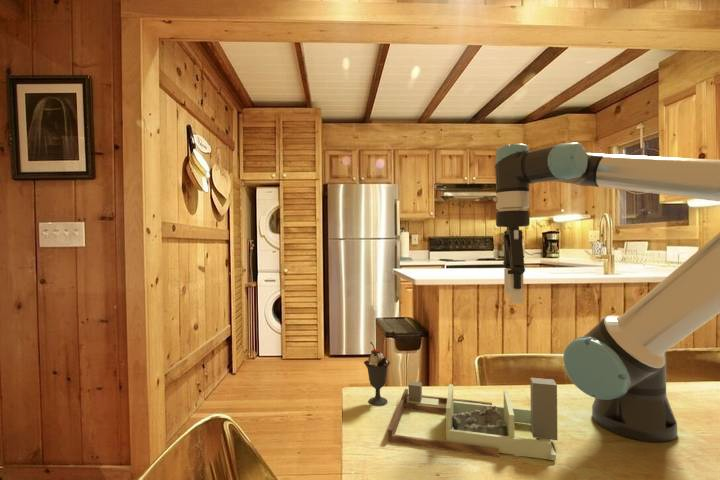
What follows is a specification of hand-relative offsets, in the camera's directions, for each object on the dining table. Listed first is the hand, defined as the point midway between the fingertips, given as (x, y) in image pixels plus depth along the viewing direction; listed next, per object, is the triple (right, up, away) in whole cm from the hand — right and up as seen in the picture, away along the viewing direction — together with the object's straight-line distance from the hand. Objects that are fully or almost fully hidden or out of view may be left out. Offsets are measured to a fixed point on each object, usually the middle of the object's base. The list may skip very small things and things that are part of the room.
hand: (513, 298), depth 91 cm
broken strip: (-18, -27, +1) cm, 32 cm away
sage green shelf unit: (-8, -27, -12) cm, 30 cm away
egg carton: (-12, -27, -11) cm, 31 cm away
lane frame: (-18, -27, -6) cm, 33 cm away
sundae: (-33, -27, +5) cm, 43 cm away
